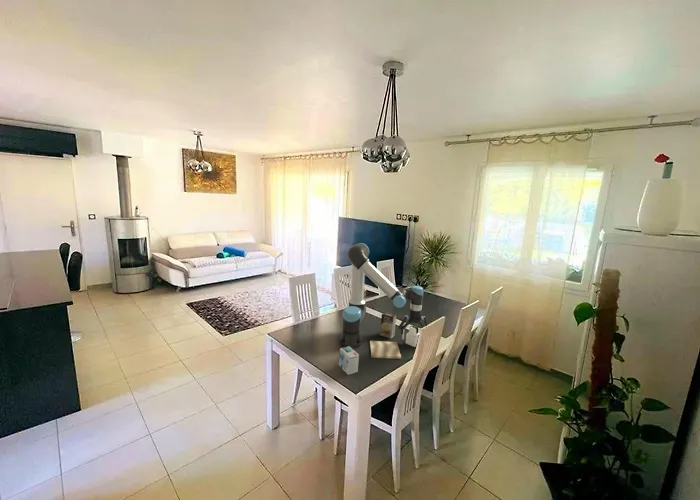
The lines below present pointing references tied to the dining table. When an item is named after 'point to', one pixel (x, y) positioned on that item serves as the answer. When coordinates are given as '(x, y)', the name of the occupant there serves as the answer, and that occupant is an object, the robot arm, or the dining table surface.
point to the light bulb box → (348, 360)
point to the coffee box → (388, 324)
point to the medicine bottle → (412, 336)
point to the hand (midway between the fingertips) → (412, 339)
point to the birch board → (384, 349)
